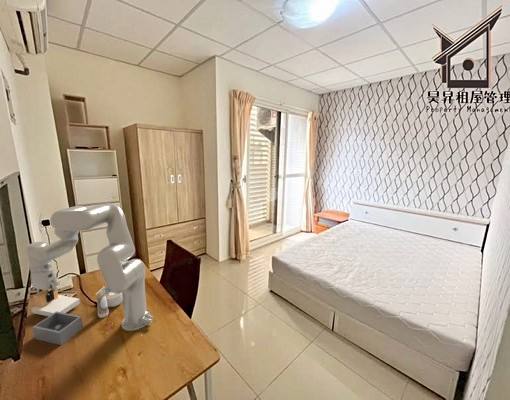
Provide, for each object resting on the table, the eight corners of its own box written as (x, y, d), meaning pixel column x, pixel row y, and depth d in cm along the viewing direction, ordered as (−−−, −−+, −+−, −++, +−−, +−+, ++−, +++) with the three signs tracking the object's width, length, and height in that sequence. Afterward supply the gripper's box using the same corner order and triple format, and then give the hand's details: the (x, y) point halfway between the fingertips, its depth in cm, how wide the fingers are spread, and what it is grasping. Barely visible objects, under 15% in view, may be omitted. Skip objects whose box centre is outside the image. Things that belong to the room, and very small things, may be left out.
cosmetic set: (108, 320, 111) (104, 285, 107) (89, 320, 111) (84, 285, 107) (134, 289, 135) (131, 260, 131) (118, 289, 135) (115, 260, 131)
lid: (80, 302, 119) (77, 288, 118) (57, 318, 109) (55, 302, 107) (56, 298, 122) (53, 284, 121) (32, 312, 111) (28, 297, 110)
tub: (83, 327, 106) (81, 316, 105) (61, 345, 96) (59, 333, 95) (58, 322, 109) (56, 311, 107) (34, 339, 99) (32, 327, 98)
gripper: (62, 265, 114) (68, 298, 118) (35, 261, 117) (41, 293, 121) (46, 273, 107) (52, 307, 111) (18, 268, 110) (25, 302, 114)
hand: (47, 299), depth 116 cm, fingers closed on lid, 4 cm apart
